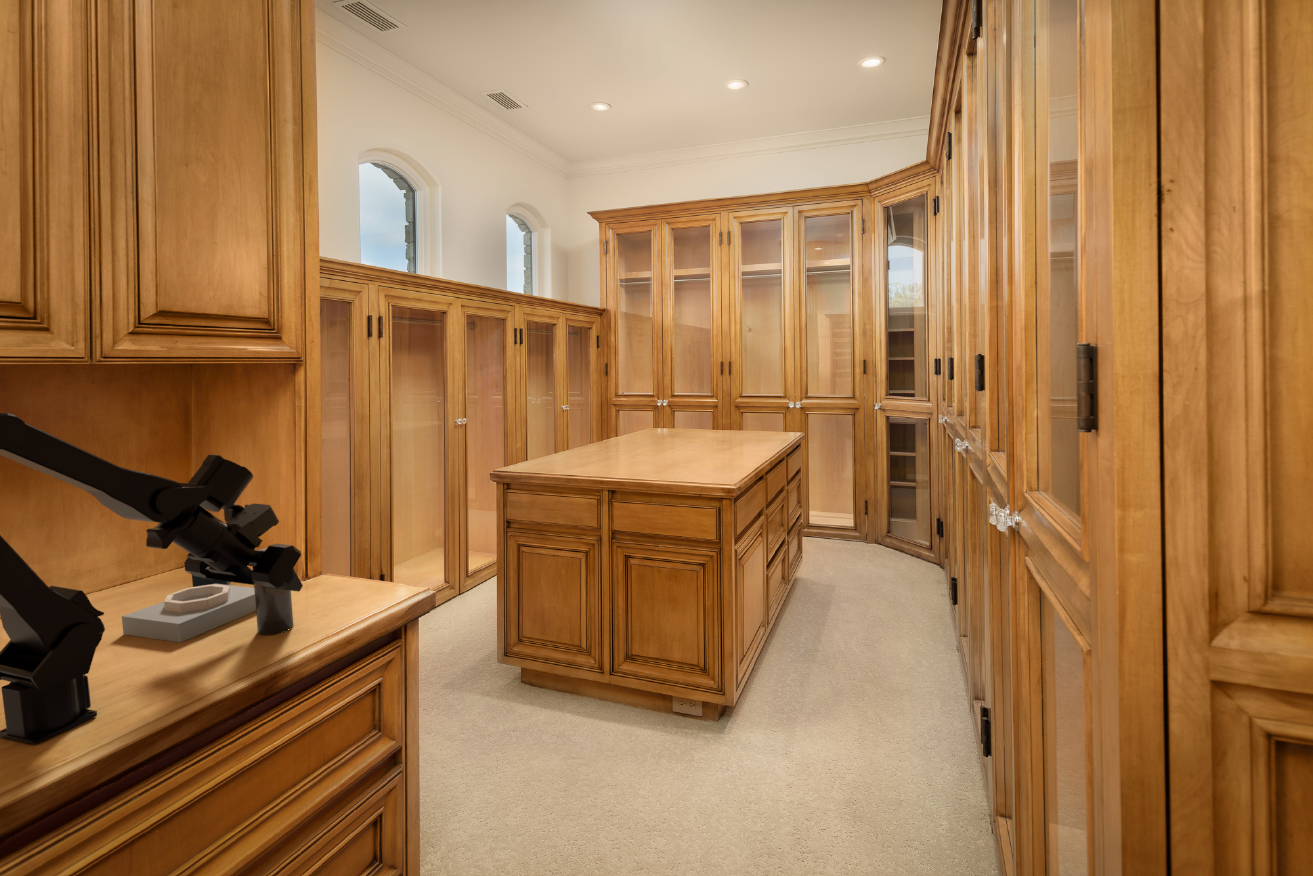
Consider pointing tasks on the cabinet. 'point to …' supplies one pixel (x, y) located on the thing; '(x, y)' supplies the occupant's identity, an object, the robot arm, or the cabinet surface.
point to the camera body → (190, 612)
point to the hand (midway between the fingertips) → (279, 585)
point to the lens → (272, 609)
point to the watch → (206, 581)
